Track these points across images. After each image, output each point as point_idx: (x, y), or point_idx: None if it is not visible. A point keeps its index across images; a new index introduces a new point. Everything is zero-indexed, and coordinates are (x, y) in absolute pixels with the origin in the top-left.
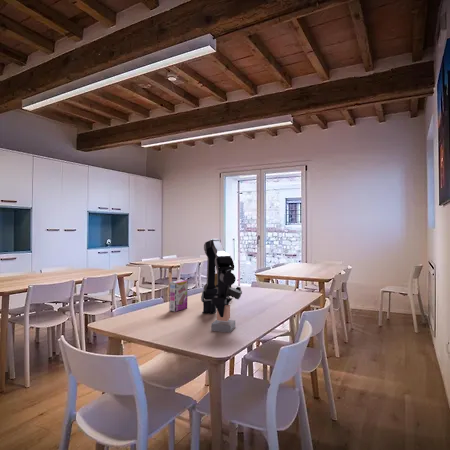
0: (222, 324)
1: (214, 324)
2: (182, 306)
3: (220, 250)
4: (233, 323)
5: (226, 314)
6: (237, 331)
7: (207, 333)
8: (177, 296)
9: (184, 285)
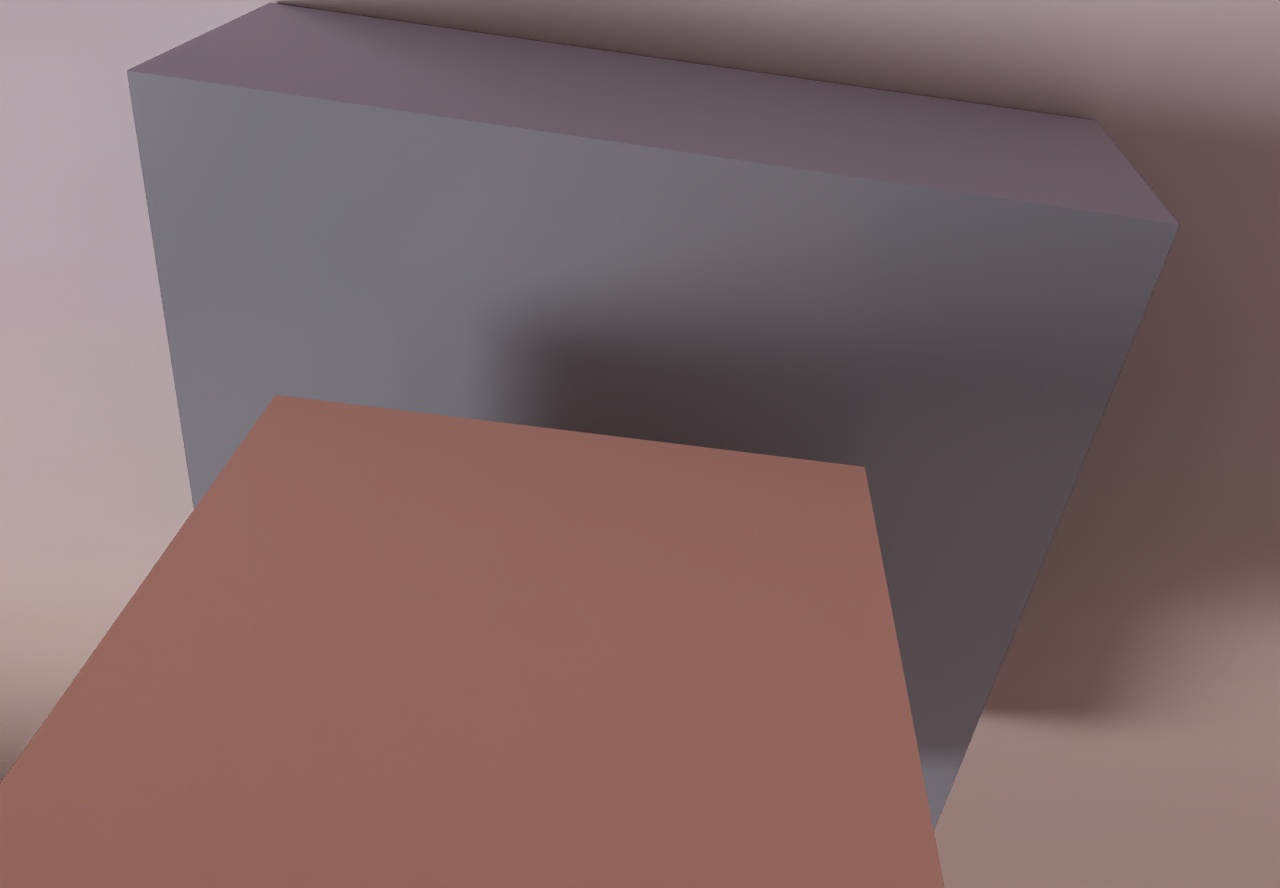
0: (959, 576)
1: (937, 806)
2: None
3: None
4: (547, 113)
5: (900, 796)
6: None
7: (1158, 775)
8: None
9: None
